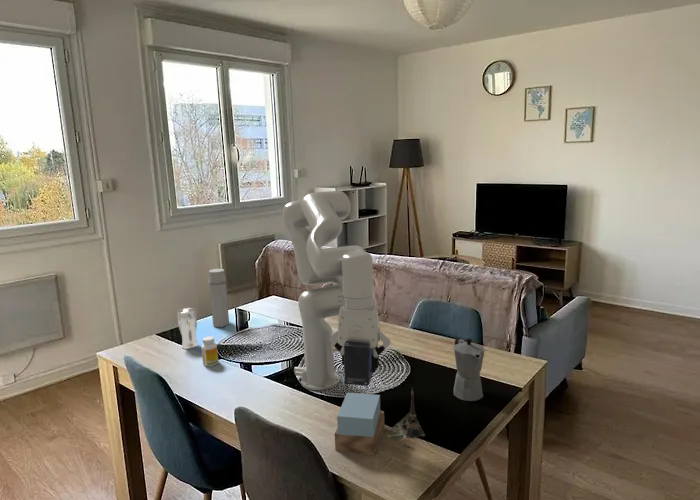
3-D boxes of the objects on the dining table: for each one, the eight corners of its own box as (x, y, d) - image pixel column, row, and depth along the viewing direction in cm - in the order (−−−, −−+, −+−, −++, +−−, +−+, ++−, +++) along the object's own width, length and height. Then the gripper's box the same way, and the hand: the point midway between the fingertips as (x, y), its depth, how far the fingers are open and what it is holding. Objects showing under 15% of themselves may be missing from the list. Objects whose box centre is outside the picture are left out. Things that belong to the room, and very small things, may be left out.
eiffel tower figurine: (408, 414, 139) (408, 370, 137) (441, 424, 133) (441, 380, 131) (380, 439, 128) (379, 393, 125) (414, 452, 122) (414, 404, 119)
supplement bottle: (221, 361, 178) (219, 336, 176) (211, 367, 173) (209, 342, 171) (210, 359, 180) (207, 334, 178) (200, 365, 175) (197, 340, 173)
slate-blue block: (337, 434, 122) (337, 416, 121) (347, 409, 133) (347, 392, 132) (373, 437, 120) (372, 419, 119) (380, 411, 131) (379, 394, 130)
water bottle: (228, 327, 212) (223, 272, 207) (210, 328, 212) (204, 272, 207) (233, 320, 221) (228, 267, 216) (216, 320, 221) (211, 267, 216)
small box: (370, 387, 118) (368, 346, 116) (343, 385, 120) (342, 345, 117) (376, 368, 128) (375, 330, 126) (352, 366, 130) (351, 329, 128)
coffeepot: (493, 402, 143) (494, 345, 139) (463, 407, 141) (464, 349, 137) (469, 379, 158) (469, 326, 154) (442, 383, 156) (442, 330, 152)
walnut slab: (335, 451, 123) (334, 433, 122) (349, 423, 135) (348, 407, 134) (373, 456, 120) (373, 438, 119) (384, 427, 133) (384, 411, 132)
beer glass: (177, 348, 191) (172, 312, 188) (189, 341, 198) (185, 306, 195) (191, 350, 189) (187, 313, 186) (202, 343, 195) (199, 308, 192)
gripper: (320, 304, 119) (323, 372, 122) (390, 308, 114) (391, 378, 118) (329, 295, 126) (332, 360, 129) (395, 298, 121) (396, 365, 125)
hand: (360, 368), depth 124 cm, fingers closed on small box, 6 cm apart
